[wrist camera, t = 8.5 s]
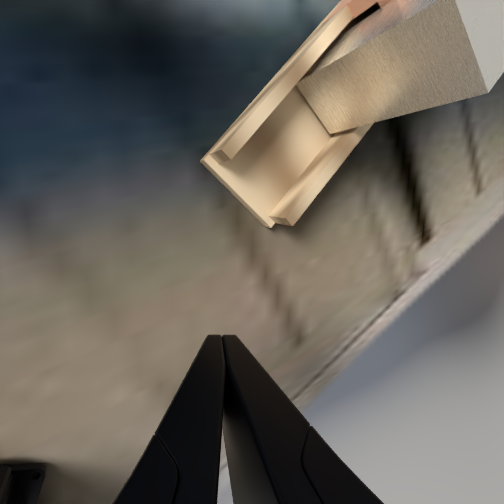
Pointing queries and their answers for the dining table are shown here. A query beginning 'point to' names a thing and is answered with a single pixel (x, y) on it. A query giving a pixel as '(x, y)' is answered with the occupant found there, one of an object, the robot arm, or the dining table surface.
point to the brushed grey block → (407, 61)
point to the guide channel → (285, 138)
